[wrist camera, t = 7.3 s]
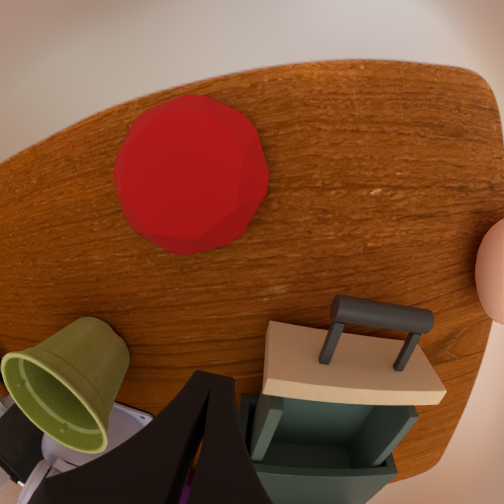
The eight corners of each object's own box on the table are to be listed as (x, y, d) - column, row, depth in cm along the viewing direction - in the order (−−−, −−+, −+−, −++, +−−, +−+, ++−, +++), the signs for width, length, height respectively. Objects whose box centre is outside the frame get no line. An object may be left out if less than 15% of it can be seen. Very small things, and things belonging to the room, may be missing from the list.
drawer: (284, 260, 18) (288, 305, 12) (438, 291, 18) (480, 333, 12) (238, 431, 23) (231, 483, 18) (355, 442, 23) (365, 489, 18)
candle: (44, 367, 25) (-82, 502, 1) (78, 390, 25) (-44, 547, 1) (49, 394, 27) (-57, 520, 3) (81, 416, 27) (-20, 557, 3)
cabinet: (241, 393, 23) (229, 468, 15) (378, 408, 23) (398, 473, 15) (221, 467, 27) (211, 521, 20) (327, 478, 27) (331, 529, 20)
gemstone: (221, 270, 19) (212, 288, 16) (109, 204, 18) (84, 210, 16) (294, 145, 17) (298, 140, 14) (168, 82, 16) (149, 69, 13)
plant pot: (49, 290, 21) (-16, 339, 13) (139, 304, 21) (80, 376, 13) (73, 373, 24) (30, 429, 16) (156, 394, 24) (123, 467, 15)
